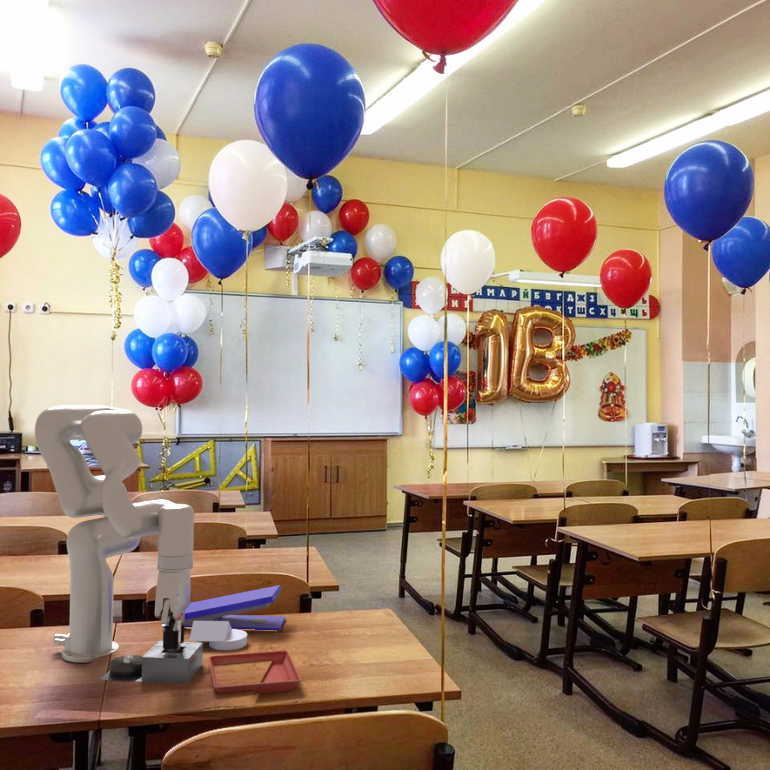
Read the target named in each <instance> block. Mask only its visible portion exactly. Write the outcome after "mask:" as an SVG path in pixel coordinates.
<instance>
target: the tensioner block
mask: <svg viewBox="0 0 770 770" xmlns="http://www.w3.org/2000/svg"><path fill="white" fill-rule="evenodd" d="M203 649H204V643H203V642H201V641H184V642H183V643H181V651H180V653H166V649H164V648H163V640H158V641H157V642H156V643H155V644H154V645H152V647H150V649H149V650H148V651H147V652H146V653H144V654H143V655H139V654H128V655H127V654H126V655H122V656H118V657H115V658H113V659H112V660H110V662H109V670H108V671H107V672H106V673H104V675H103V676H101V678H99V679H98V680H99V681H118V682H140V683H141V682H142V683H160V684H161V683H163V684H181V685H182V684H183V685H187V684H188V683H189V682H190V681H191V680H192V678H193V677H194V676H195V675H196V674H197V673H198V671H199V670H200V669H201V668H202V666H203V665H204V663H203V658H204V657H203V653H204V652H203V651H204V650H203Z"/></svg>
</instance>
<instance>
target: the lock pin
mask: <svg viewBox="0 0 770 770" xmlns="http://www.w3.org/2000/svg"><path fill="white" fill-rule="evenodd" d="M172 615H173V614H170V616H172ZM181 619H182V613H181V614H180V615H179V616H178V620H177V630H179V636H178V648H177V649H166V653H180V651H181ZM169 620H170V621H172V622H173V620H172V619H169Z"/></svg>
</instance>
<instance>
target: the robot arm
mask: <svg viewBox="0 0 770 770" xmlns="http://www.w3.org/2000/svg"><path fill="white" fill-rule="evenodd" d="M142 433H143V424H142V421H141V419H140V418H139V416H138V415H137V414H136V413H135V412H133V411H131V410H128V409H123V408H117V407H111V406H106V405H99V404H97V405H95V404H89V405H87V404H84V405H82V404H81V405H80V404H79V405H76V404H75V405H74V404H73V405H72V404H71V405H66V404H65V405H57V406H51V407H48V408H46V409H44V410H42V411H41V412H40V414H39V415H38V417H37V419H36V421H35V425H34V439H35V443H36V446H37V449H38V450H39V454H40V455H41V457H42V459H43V461H44V462H45V464H46V465H47V468H48V470H49V473H50V476H51V480H52V483H53V486H54V489H55V492H56V494H57V497H58V502H59V503H60V506H61V509H62V511H63V513H64V514H65V515H66V516H67V517H69V518H71V519H78V518H79V519H80V518H86V517H87V518H88V517H94V516H98V515H102V517H99V518H94V519H93V518H91V519H86V520H84V521H81V522H78V523H77V524H75V525H73V526H72V527H71V528H70V530H69V531H68V534H67V536H66V549H67V555H68V561H69V569H70V570H69V571H70V576H69V577H70V585H69V586H70V593H69V630H68V631H69V633H67V634H64V633H55V635H54V636H53V645H55V646H63V647H64V648H63V649H62V651H61V657H62V658H61V659H64V660H65V661H67V662H71V663H79V664H80V663H81V664H82V663H93V662H94V661H95V660H96V659H98V658H99V657H104V656H107V655H111V654H112V653H114V652H116V651H117V650H118V649H119V648H120V645H119V644H118V642H116V641H113V635H114V634H113V630H114V629H113V627H114V626H113V625H114V624H113V623H114V587H115V586H114V580H115V579H114V574H113V571H112V569H111V567H110V566H109V564H108V563H107V559H108V558H112V557H115V556H120V555H123V554H127V553H131V552H132V551H134V550H135V549H136V548H137V547H138V546H139V544H140V541H141V538H142V537H147V536H151V535H152V536H153V535H157V560H156V561H157V562H156V563H157V564H156V566H157V567H156V569H157V571H158V575H157V580H156V581H157V582H156V589H155V603H154V617H156V618H160V617H161V620H160V625H161V626H162V632H163V633H162V641H163V648H164V649H177V648H178V636H179V630H177V620H178V616H179V615H180V614H181V613H182V619H181V643H183V642H185V629H184V625H182V624H184V622H185V610H186V609H187V608H188V607H189V604H190V603H191V589H192V588H191V570H192V569H193V568H194V535H195V534H194V533H195V532H194V531H195V511H194V508H193V506H191V505H190V504H185V503H175V502H172V501H170V500H168V499H154V500H145V501H139V502H133V503H132V500H131V497H130V495H129V492H128V490H127V488H126V485H125V484H124V482H123V481H124V480H126V479H127V478H128V477H130V476H131V475H132V474H134V473H135V472H136V470H138V468H139V466H140V464H141V457H140V455H139V454H138V452H137V451H136V449H135V447H134V446H133V444H135V443H137V442H138V441H139V440H140V439H141V438H142V435H143V434H142ZM76 440H79V441H80V440H84V441H85V442H86V444H87V447H89V450H90V451H91V454H92V455H93V457H94V458H95V460H96V462H97V464H98V466H99V467H100V469H101V471H102V472H103V475H93V473H92V472H91V470H90V468H89V465H88V462H87V460H86V457H85V456H84V454H83V453H82V452H81V451H80V450H79V449H78V448H77V447H76V446H75V445H73V444H72V443H71V441H76ZM170 614H173V615H172V616H170ZM169 619H172V620H173V622H172V621H170V620H169Z"/></svg>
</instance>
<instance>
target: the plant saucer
mask: <svg viewBox="0 0 770 770" xmlns="http://www.w3.org/2000/svg"><path fill="white" fill-rule="evenodd" d="M261 661H271V663H270V665H269V666H268V668H267V670H266V671H265V673H264V675H263V677H262V678H261V680H260V682H257V683H256V682H255V683H244V684H243V683H242V684H233V685H232V684H231V685H219V686H218V681H217V676H216V675H217V674H216V671H215V670H216V669H215V666H216V665H226V664H227V665H228V664H238V663H250V662H251V663H252V662H261ZM208 662H209V667H210V668H209V669H210V674H211V678H212V683H213V688H214V690H215V691H216V692H217V693H218V694H228V693H240V692H249V691H254V693H253V695H259V694H260V695H261V694H271V693H280V692H290V691H292V690H293V689H295V688H296V687H297V685H298V684H300V682H301V680H302V678H301V676H300V674H299V672H298V669H297V668H296V664H295V663H294V661H293V659H292V656H291V655H290V652H289V651H287V650H277V651H264V652H263V651H261V652H250V653H249V652H247V653H234V654H233V653H232V654H220V655H211V656H209V657H208Z"/></svg>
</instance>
